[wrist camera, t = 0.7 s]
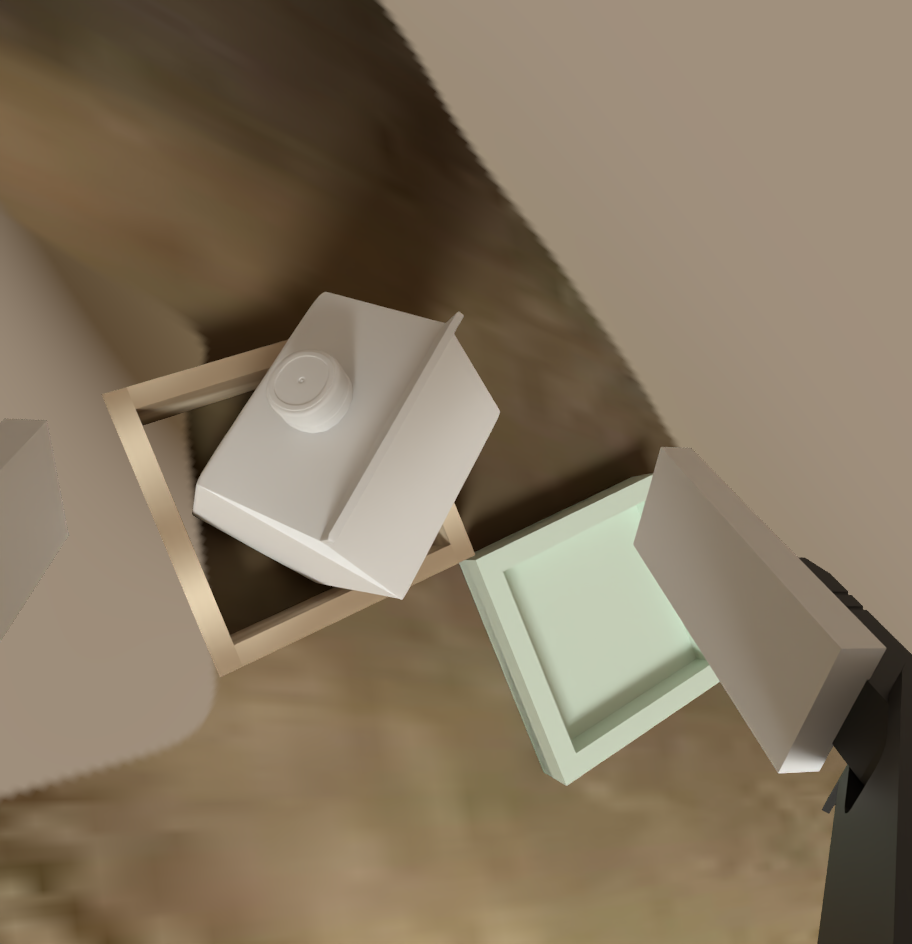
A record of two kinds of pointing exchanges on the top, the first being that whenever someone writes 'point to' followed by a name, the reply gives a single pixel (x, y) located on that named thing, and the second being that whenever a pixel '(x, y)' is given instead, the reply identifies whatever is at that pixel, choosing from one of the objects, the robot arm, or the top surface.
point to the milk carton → (351, 447)
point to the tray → (585, 631)
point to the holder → (226, 650)
